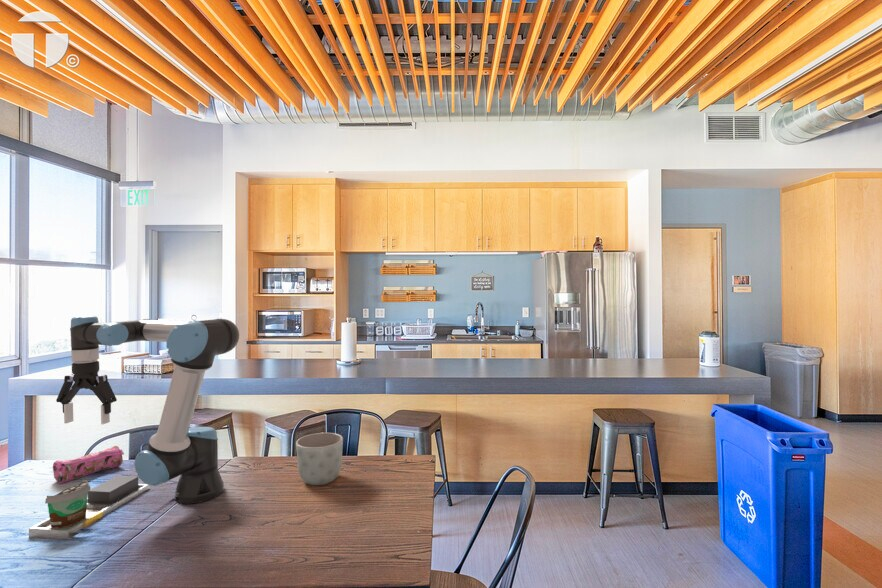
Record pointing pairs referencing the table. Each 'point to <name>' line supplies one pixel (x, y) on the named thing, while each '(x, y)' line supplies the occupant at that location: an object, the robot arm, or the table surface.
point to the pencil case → (87, 464)
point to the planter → (319, 457)
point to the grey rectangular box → (113, 490)
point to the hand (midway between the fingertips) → (87, 422)
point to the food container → (68, 505)
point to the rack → (92, 515)
